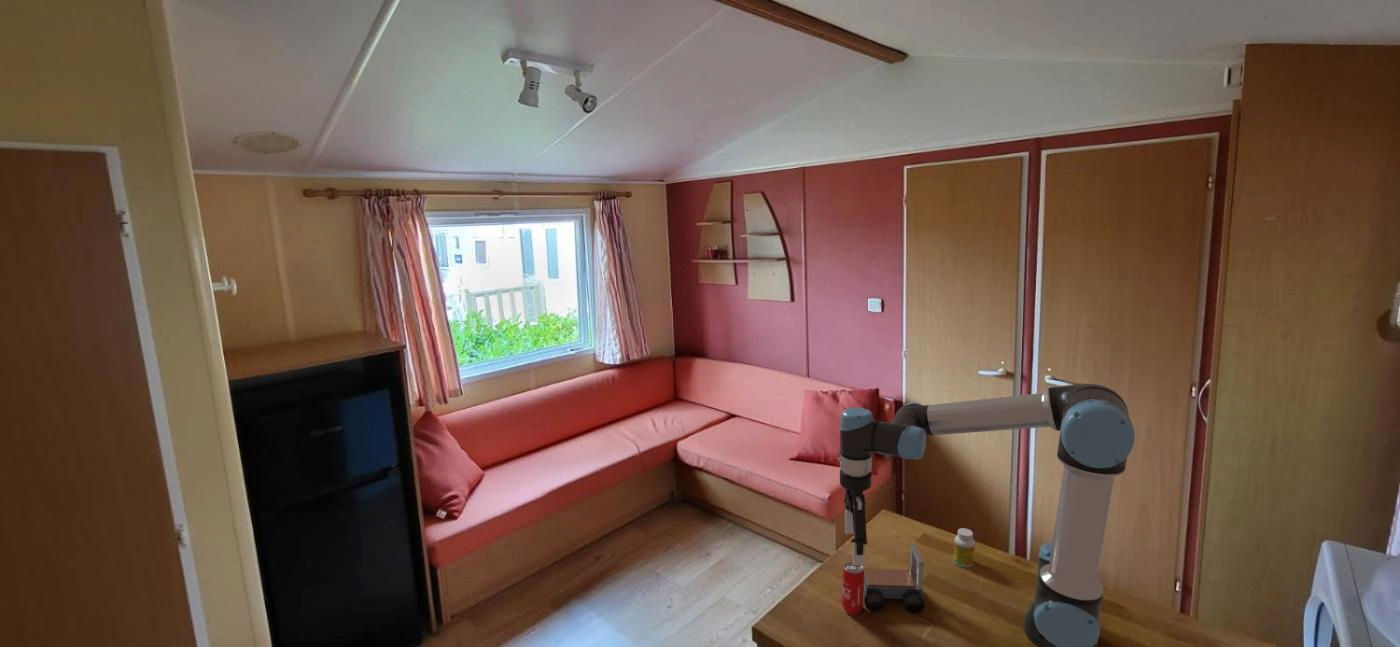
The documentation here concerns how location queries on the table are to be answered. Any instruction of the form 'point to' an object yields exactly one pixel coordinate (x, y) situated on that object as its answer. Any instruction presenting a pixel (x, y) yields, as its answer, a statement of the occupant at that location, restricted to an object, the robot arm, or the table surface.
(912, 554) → the trolley
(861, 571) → the beverage can
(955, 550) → the supplement bottle
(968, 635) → the table surface
